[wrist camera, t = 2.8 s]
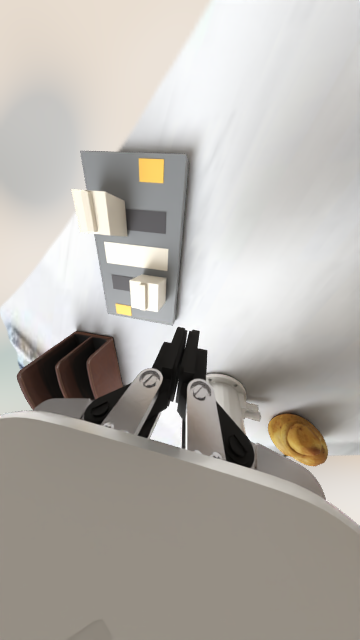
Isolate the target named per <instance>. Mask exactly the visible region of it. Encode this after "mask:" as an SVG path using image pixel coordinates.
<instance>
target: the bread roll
mask: <svg viewBox="0 0 360 640" xmlns="http://www.w3.org/2000/svg"><path fill="white" fill-rule="evenodd" d="M268 431H269V435H270V437H271V439H272V441H273V443H274V444H275V446H276V447H277V448H278V449H279V450H280V451H281V452H282V453H283V454H285V455H287V456H291V457H293V458H294V459H296V460H297V461H299V462H301V463H303V464H306V465H309V466H317V465H319V464H322V463H324V462H325V461H326V459H327V456H328V449H327V446H326V442H325V440H324V438H323V436H322V435H321V433H320V432H319V431H318V430H317V428H316V427H315V426H314V425H313V424H311V423H310V422H309V421H307V420H306V419H305V418H303V417H301V416H298V415H295V414H281V415H278V416H276V417H274V418H272V420H271V421H270V422H269V424H268Z"/></svg>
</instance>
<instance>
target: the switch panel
mask: <svg viewBox="0 0 360 640" xmlns="http://www.w3.org/2000/svg"><path fill="white" fill-rule="evenodd" d="M80 153H81V159H82V165H83V170H84V177H85V182H86V188H87V190H90V191H105V192H107V193H109V194H111V195H113V196H115V197H118V198H120V199H122V200H124V201H125V210H126V223H127V237H125V236H110V235H101V234H94V235H95V241H96V247H97V253H98V259H99V265H100V270H101V276H102V282H103V288H104V294H105V300H106V306H107V312H108V314H112V315H118V316H123V317H129V318H134V319H140V320H145V321H150V322H156V323H161V324H167V325H172V326H173V324H174V322H175V317H176V305H177V294H178V282H179V271H180V260H181V248H182V237H183V225H184V214H185V202H186V191H187V179H188V168H189V161H188V158H187V154H171V153H138V152H105V151H80ZM140 275H149V276H156V277H163V278H167V279H166V301H165V303H164V305H163V306H162V307H161V308H160V310H159V311H158V312H154V311H149V310H145V311H144V310H140V309H137V308H132V307H131V294H130V281H129V280H131V279H133V278H135V277H138V276H140Z"/></svg>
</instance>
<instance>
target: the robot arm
mask: <svg viewBox="0 0 360 640" xmlns="http://www.w3.org/2000/svg"><path fill="white" fill-rule="evenodd" d="M199 332H200V331H197V330H192V331H189V335H188V339H187V343H186V337H187V330H185V328H181V327H178V328H177V330H176V333H175V335H174V338H173V340H172V343H168V342H164V343H163V345H162V347H161V349H160V352H159V354H158V356H157V358H156V360H155V362H154V364H153V367H152V368H148V369H145V370H143V371H141V372H140V373H139V374H138V376H137V377H136V378H135V380H134V381H133V382H132V383H130V384H128V385H126V386H124V387H121V388H119V389H117V390H115V391H112V392H110V393H108V394H106V395H103V396H101V397H99V398H97V399H95V400H90V399H83V398H54V399H49V400H46V401H44V402H42V403H41V404H39V405H38V406H37V407H36V408H35V409H34V410H33V411H18V412H11V413H5V414H1V415H0V640H360V526H359V525H358V524H357V523H356V522H354V521H353V520H352V519H351V518H350V517H349V516H347V515H346V514H345V513H343V512H342V511H341V510H339V509H338V508H337V507H335V506H334V505H332V504H331V503H329V502H328V501H326V498H325V495H324V492H323V490H322V488H321V486H320V484H319V482H318V481H317V479H316V478H315V477H314V476H313V475H312V474H311V472H310V471H308V470H307V469H306V468H304V467H303V466H301V465H300V464H298V463H296V462H294V461H292V460H290V459H288V458H286V457H284V456H282V455H280V454H278V453H276V452H274V451H272V450H271V449H269V448H267V447H265V446H263V445H261V444H259V443H256V444H255V443H253V442H251V441H250V440H249V439H248V437H247V436H246V433H245V427H244V421H243V419H245V418H249V419H252V420H256V421H260V419H261V415H260V412H259V411H258V405H255V404H250V403H247V402H246V391H245V388H244V387H243V385H242V384H241V383H240V382H239V381H237V380H236V379H234V378H232V377H230V376H227V375H223V374H207V375H206V369H207V350H203V349H198V348H197V347H198V340H199ZM185 344H186V347H185ZM178 379H179V380H178ZM177 384H178V388H177ZM176 388H177V396H176V403H178V409H177V411H178V413H179V415H180V416H181V418H182V420H181V448H179V447H175V446H172V445H168V444H165V443H161V442H158V441H154V440H151V439H150V437H151V434H152V432H153V430H154V428H155V426H156V423H157V421H158V419H159V417H160V414H161V411H163V410H165V409H166V408H167V406H169V403H170V401H172V402H173V400H174V396H175V392H176Z"/></svg>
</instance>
